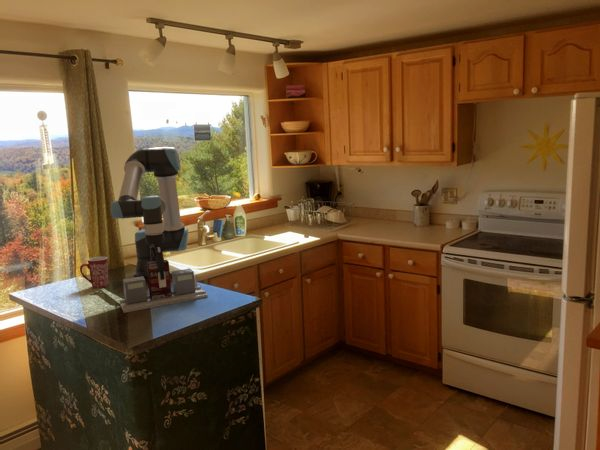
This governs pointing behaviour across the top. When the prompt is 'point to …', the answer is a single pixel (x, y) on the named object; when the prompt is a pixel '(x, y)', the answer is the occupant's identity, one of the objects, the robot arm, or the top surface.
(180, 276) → the rail base
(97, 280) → the mug
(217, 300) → the top surface
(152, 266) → the supplement box
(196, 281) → the block
